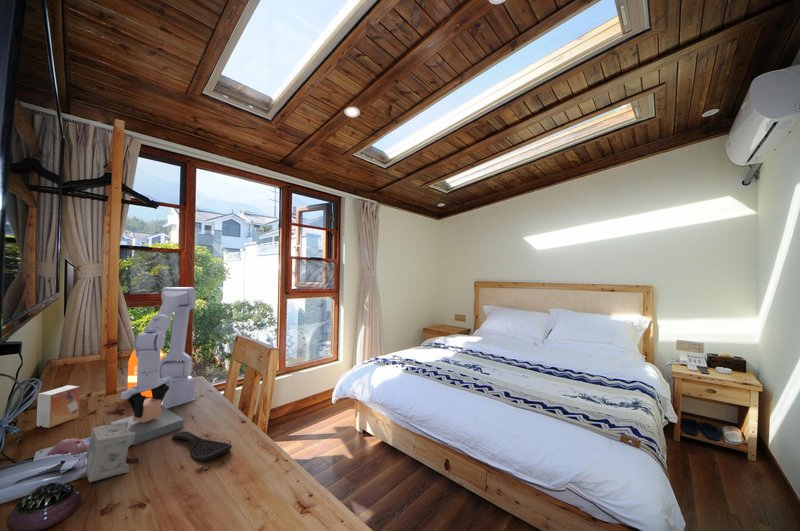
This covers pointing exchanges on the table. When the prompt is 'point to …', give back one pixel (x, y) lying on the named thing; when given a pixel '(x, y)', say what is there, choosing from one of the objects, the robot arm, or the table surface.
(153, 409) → the terracotta block
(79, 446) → the pink rounded lump
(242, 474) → the table surface
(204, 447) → the hairbrush
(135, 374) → the orange juice
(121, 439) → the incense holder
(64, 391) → the small box
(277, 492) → the table surface
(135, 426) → the plinth
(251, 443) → the table surface
